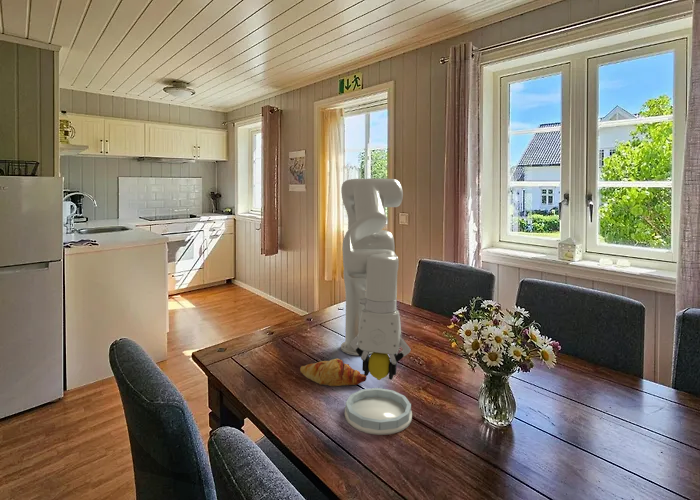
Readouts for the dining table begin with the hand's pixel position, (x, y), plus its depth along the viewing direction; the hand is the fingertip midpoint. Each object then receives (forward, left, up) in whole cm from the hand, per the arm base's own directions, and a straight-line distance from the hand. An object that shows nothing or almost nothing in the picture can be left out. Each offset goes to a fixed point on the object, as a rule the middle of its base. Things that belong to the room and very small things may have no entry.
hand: (379, 374), depth 102 cm
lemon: (0, 0, -1) cm, 2 cm away
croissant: (-15, -17, -11) cm, 25 cm away
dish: (0, 0, -11) cm, 11 cm away
